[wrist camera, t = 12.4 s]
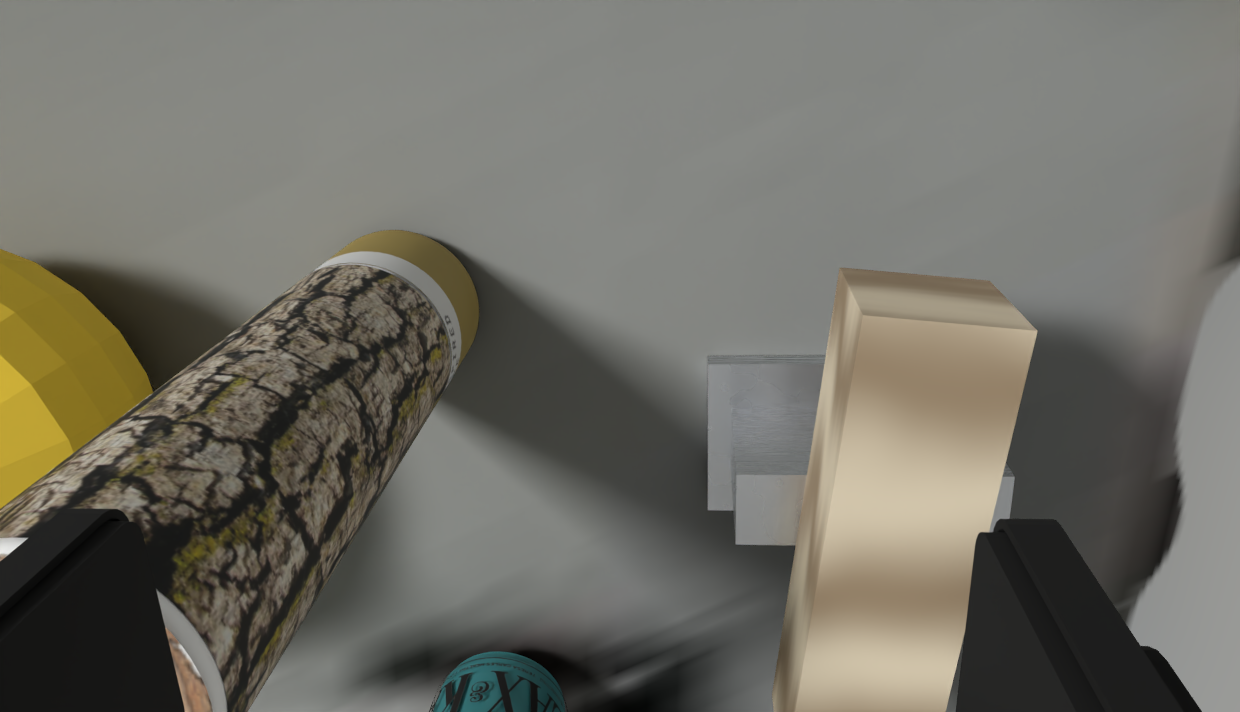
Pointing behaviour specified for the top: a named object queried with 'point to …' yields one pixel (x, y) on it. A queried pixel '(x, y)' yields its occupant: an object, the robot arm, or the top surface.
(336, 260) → the brown bark cylinder
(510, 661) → the beverage bottle
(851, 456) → the beam
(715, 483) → the fulcrum
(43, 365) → the vase
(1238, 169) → the top surface
